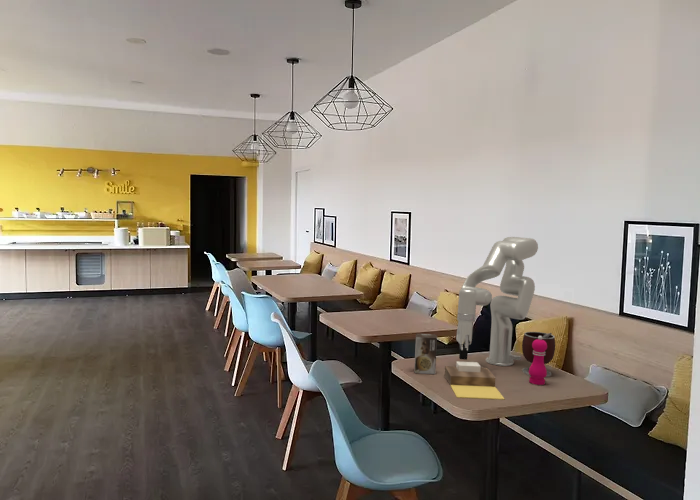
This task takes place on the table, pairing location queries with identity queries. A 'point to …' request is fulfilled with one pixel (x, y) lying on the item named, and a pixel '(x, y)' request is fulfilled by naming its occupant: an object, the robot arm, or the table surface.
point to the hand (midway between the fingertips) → (463, 358)
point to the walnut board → (469, 377)
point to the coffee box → (425, 353)
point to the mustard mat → (476, 392)
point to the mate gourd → (528, 349)
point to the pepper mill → (538, 362)
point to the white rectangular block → (468, 366)
